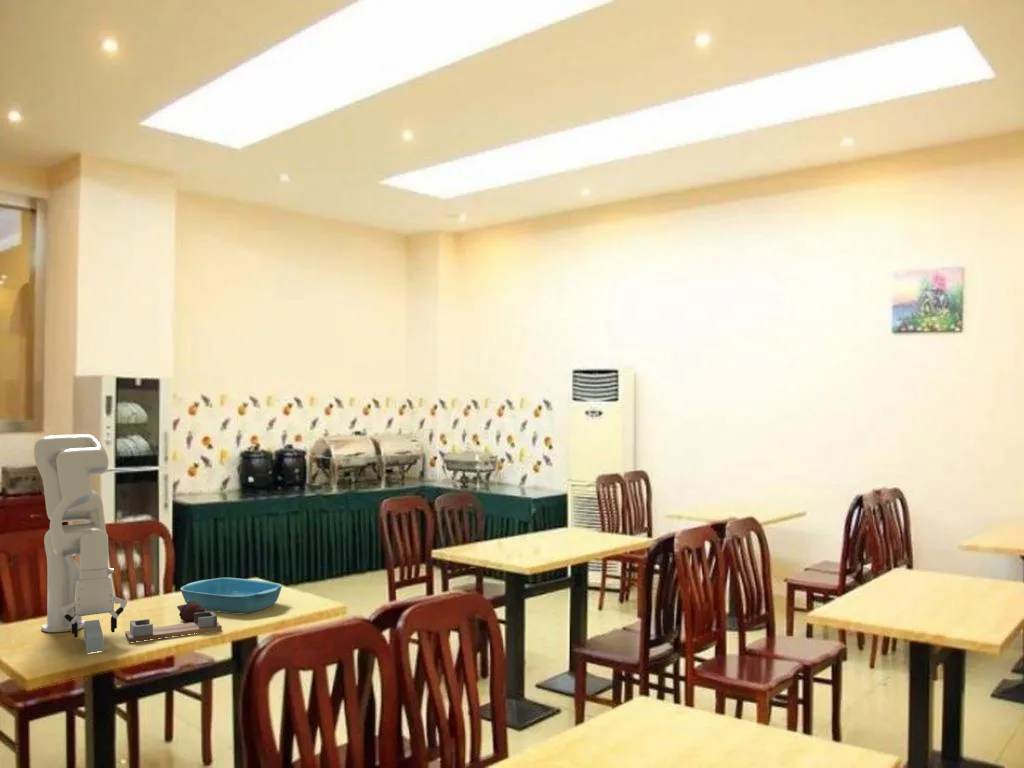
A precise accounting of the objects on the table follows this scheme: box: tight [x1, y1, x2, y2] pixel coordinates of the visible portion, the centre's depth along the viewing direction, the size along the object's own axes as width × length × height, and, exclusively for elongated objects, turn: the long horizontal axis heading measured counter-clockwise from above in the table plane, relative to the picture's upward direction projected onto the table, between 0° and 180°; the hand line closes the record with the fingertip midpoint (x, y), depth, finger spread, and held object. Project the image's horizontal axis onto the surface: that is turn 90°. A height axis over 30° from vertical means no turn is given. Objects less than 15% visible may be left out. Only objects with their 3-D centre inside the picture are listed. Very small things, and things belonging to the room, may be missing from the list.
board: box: [124, 621, 223, 644], centre depth 259 cm, size 9×26×2 cm, turn 121°
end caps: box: [129, 610, 218, 637], centre depth 259 cm, size 8×24×3 cm, turn 121°
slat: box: [83, 619, 104, 654], centre depth 247 cm, size 4×20×5 cm, turn 29°
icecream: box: [176, 601, 206, 623], centre depth 272 cm, size 7×7×15 cm
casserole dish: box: [180, 577, 283, 614], centre depth 294 cm, size 37×22×7 cm, turn 62°
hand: (94, 633), depth 247 cm, fingers open, 9 cm apart
